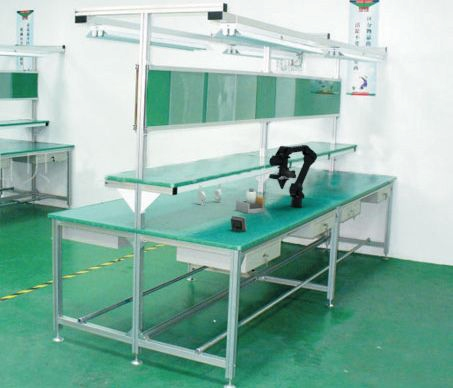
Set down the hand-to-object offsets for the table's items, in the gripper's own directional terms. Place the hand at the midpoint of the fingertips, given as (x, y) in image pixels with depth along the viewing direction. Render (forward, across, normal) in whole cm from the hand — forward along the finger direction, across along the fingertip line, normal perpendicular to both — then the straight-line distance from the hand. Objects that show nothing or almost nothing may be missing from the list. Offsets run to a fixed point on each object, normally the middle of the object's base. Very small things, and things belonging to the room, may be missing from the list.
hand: (281, 189), depth 429 cm
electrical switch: (+13, -64, -41) cm, 77 cm away
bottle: (+12, -24, +1) cm, 27 cm away
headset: (+13, -35, +32) cm, 49 cm away
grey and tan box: (+13, -24, +1) cm, 28 cm away
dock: (+13, -24, +1) cm, 28 cm away
